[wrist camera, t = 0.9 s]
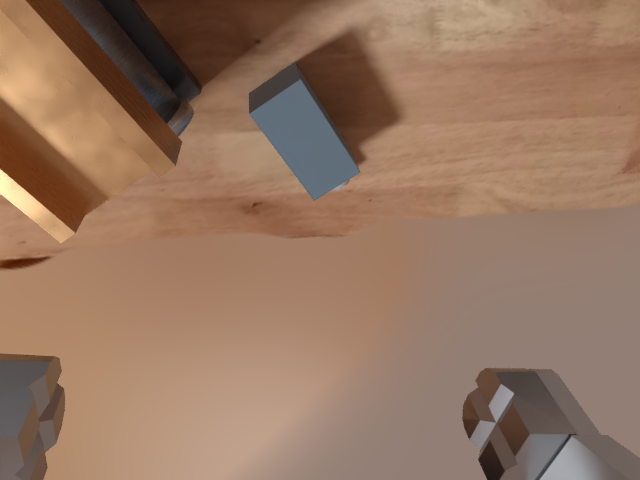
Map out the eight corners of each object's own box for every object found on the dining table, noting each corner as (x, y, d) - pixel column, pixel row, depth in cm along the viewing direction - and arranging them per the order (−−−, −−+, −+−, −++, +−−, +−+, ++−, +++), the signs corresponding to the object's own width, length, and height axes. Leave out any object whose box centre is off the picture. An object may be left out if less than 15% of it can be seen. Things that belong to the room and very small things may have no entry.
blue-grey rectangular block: (294, 61, 38) (300, 79, 34) (358, 162, 44) (370, 187, 40) (248, 92, 39) (249, 113, 35) (317, 187, 45) (324, 214, 41)
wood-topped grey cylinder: (61, -95, 31) (-48, -102, 19) (202, 87, 38) (183, 160, 27) (-46, -3, 33) (-203, 41, 21) (107, 153, 40) (53, 247, 29)
